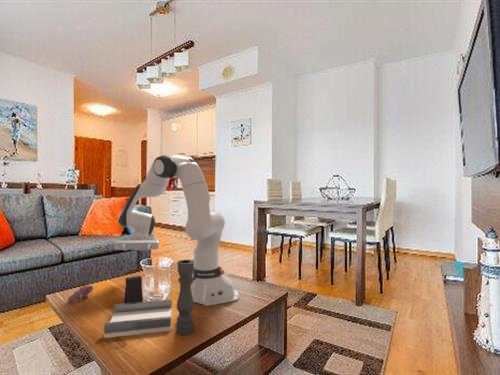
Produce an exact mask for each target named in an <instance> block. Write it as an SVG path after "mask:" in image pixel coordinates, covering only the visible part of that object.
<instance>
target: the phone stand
mask: <svg viewBox="0 0 500 375" xmlns="http://www.w3.org/2000/svg"><path fill="white" fill-rule="evenodd" d="M142 283H143V282H142V276H141V275H137V276H131V277H126V278H125V288H124V297H123V298H124V299H123V303H133V302H144V300H143V299H144V297H143V284H142Z"/></svg>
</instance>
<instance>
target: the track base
mask: <svg viewBox="0 0 500 375" xmlns="http://www.w3.org/2000/svg"><path fill="white" fill-rule="evenodd" d="M172 309H173V308H164V309H154V310H143V311H132V312H121V313H114V312H113V314H112V317H111V319H110V320H109V322H119V321H129V320H139V319H149V318H159V317H169V316H171V317H172ZM171 328H172V325H171V326H170V327H161V328H152V329H143V330H133V331H124V332H115V333H105V334H104V333H103V339H107V338H108V339H109V338H115V337H116V338H117V337H124V336H135V335H143V334H152V333H160V332H170V331H172V329H171Z"/></svg>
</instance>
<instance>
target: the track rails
mask: <svg viewBox="0 0 500 375" xmlns="http://www.w3.org/2000/svg"><path fill="white" fill-rule="evenodd" d="M172 304H173V302H172V298H171V299H159V300H158V299H157V300H147V301H146V300H145V301H143V302H133V303H124V302H122V303H121V302H120V303H115V304H114V305H113V314H114V313H121V312H132V311H143V310H154V309H164V308H172ZM172 309H173V308H172ZM103 326H104V327H103V328H104V330H103V332H104V333H103V335H104V334H105V333H115V332H124V331H133V330H143V329H152V328H161V327H170V326H171V327H172V315H171V316H169V317H159V318H149V319H139V320H129V321H119V322H110V321H109V322H105V323H104V325H103Z"/></svg>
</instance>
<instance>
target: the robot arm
mask: <svg viewBox="0 0 500 375" xmlns="http://www.w3.org/2000/svg"><path fill="white" fill-rule="evenodd" d="M170 179H178V180H179V182H180V183H181V188H182V191H183V194H184V198H185V202H186V206H187V220H186V224H185V227H184V229H185V232H186V235H187V237H189V239H192V240H195V241H197V242H196V243H197V244H196V246H195V247H194V250H193V260H194V271H193V274H192V278H193V281H192V285H191V292H192V297H193V301H194V304H195V303H196V304H201V305H202V306H205V307H206V306H207V307H209V306H215V305H219V304H226V303H232V302H236V301H238V300H239V298H240V296H239V292H238V290H236V289H235V286H234V284H233V281H231V279H230V278H228V277H227V276H226V275H224V273H225V270H224V269H223V267H221V266H220V265H219V248H220V243H221V238H222V232H223V230H224V227H225V224H226V222H225V218H224V216H223V215H222V214H221V213H218V212H214V211H210V210H211V209H210V201H211V194H210V192H209V188H208V184H207V181H206V178H205V176H204V173H203V172H202V169H201V168H200V165H199V164H197V162H195V160H194V158H193V157H191V156H187V155H177V154H167V155H166V154H165V155H160V156H157V157H156V158H155V159H154V160H153V163H152V164H151V166H150V168H149V170H148V172H147V175H146V178H145V180H143V182H142V183H138V184H137V185H136V186H135V188H134V189H133V191H132V192H131V195H130V197H129V198H128V200H127V202H126V203H125V205H124V208H123V209H122V210H121V212H120V213H119V215H118V218H117V223H118V224H119V226H121V228H127V229H128V228H129V229H133V231H132V232H131V234H130V236H129V238H118V239H117V240H115V242H114V245H113V246H114V250H115V251H117V250H119V251H122V250H123V251H128V250H131V251H132V250H133V251H141V250H145V251H149V250H159V248H160V247H159V246H160V241H159V238H157V236H156V234H153V231H154V229H155V228H154V227H155V222H156V218H155V216H154V214H152V213H151V214H150V213H148V212H143V211H139V210H135V209H134V208H135V205H137V201H138V200H140V199H144V198H157V197H160V196H162V195H163V194H164V193H165V192H166V190H167V187H168V185H169V183H170V182H169V181H170Z"/></svg>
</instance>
